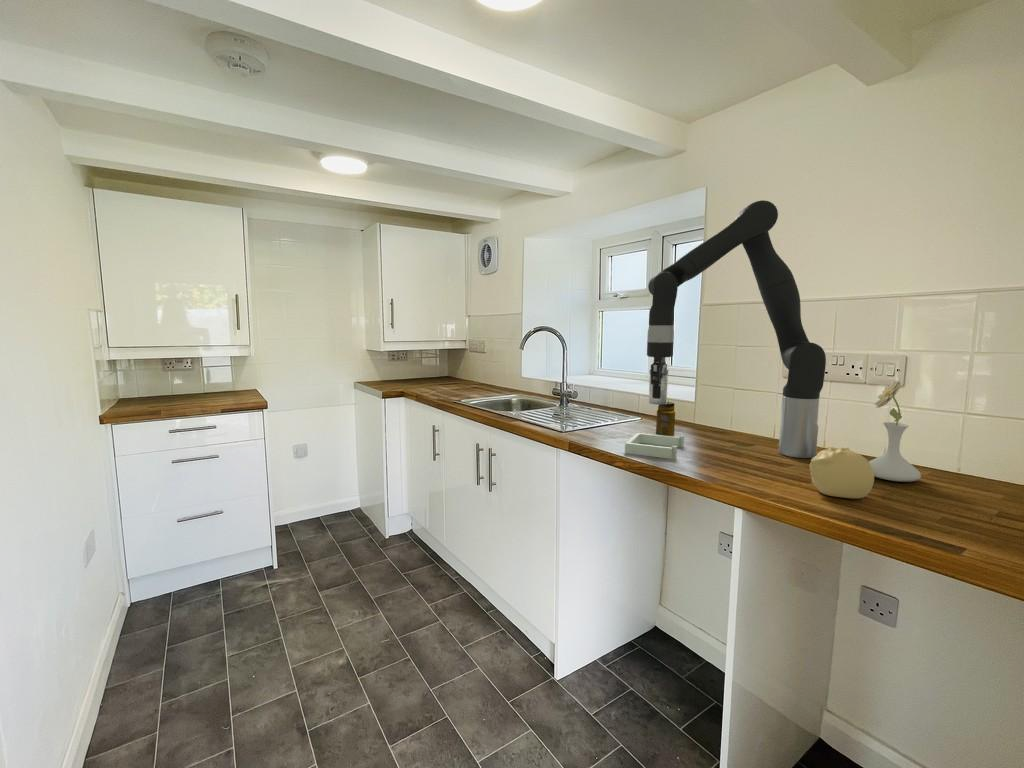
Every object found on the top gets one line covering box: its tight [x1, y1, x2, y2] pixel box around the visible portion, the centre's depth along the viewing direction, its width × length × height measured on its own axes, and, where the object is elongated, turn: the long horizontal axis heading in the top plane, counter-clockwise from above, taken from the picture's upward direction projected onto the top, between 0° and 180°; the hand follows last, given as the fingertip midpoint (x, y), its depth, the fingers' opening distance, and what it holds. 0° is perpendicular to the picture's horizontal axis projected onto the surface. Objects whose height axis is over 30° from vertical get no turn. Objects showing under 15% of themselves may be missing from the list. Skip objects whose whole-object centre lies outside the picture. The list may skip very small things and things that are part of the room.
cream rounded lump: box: [809, 446, 875, 499], centre depth 106 cm, size 11×12×11 cm
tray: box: [624, 432, 685, 460], centre depth 145 cm, size 15×16×4 cm
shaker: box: [648, 368, 669, 406], centre depth 143 cm, size 5×5×10 cm
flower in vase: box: [868, 379, 922, 483], centre depth 116 cm, size 13×11×25 cm
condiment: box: [655, 401, 679, 437], centre depth 162 cm, size 7×8×12 cm
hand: (658, 396), depth 143 cm, fingers closed on shaker, 5 cm apart
